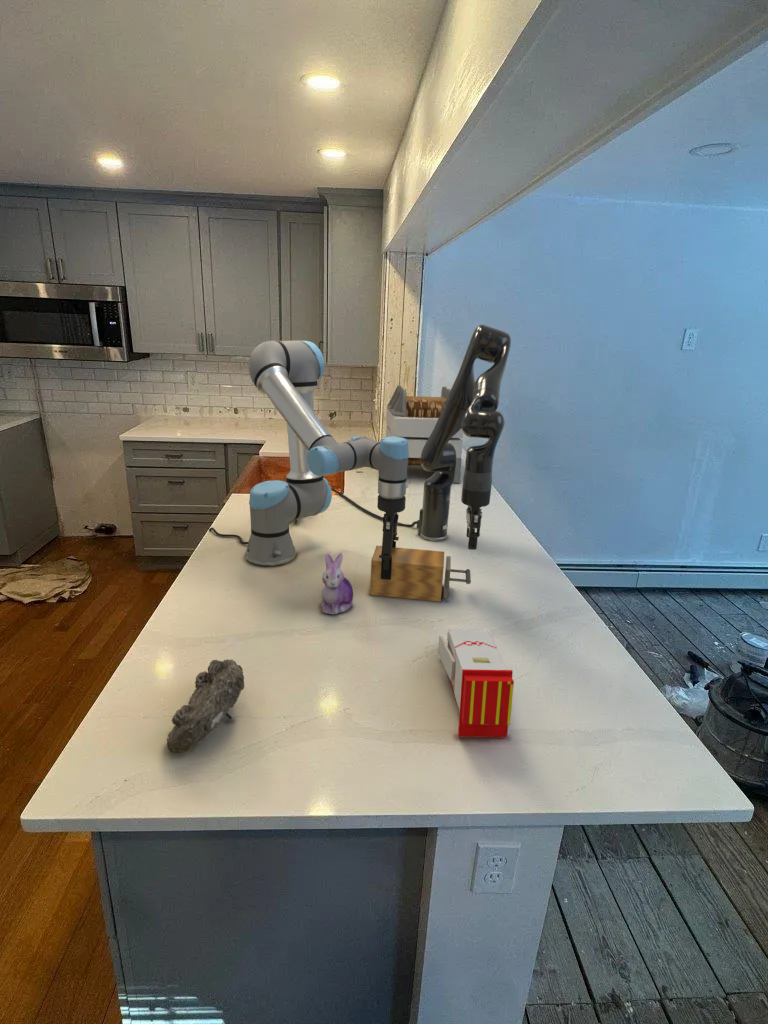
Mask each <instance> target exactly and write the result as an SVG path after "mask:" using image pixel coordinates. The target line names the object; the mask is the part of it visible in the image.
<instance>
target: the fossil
mask: <svg viewBox="0 0 768 1024" xmlns="http://www.w3.org/2000/svg"><path fill="white" fill-rule="evenodd" d="M243 670H244V669H243V667H242V665H240V664H237V662H236V661H235V660H234V659H232V658H231V659H227V658H226V659H224V660H223V661H222V660H217V659H212V660H211V661H210V663H209V665H208V666H207V671H201V672H199V673H198V674H197V675H196V676H195V680H194V684H195V685H194V687H195V689H194V690H193V693H192V694H191V697H190V698H189V700H188V704H184V705H182V706H181V707H180V709H177V710H176V711H175V713H174V715H173V716H172V718H171V723H172V724H173V727H172V730H171V731H170V732H168V734H167V738H166V741H167V742H166V745H167V749H168V750H169V751H173V752H174V753H176V754H178V753H182V752H188V751H189V752H192V751H193V750H195V748H196V747H197V746H199V744H200V743H201V742H203V741H204V740H205V739H206V738H207V737H208V736H209V735H210V734H211V733H212V732H214V730H215V729H217V727H218V726H219V724H220V722H221V721H222V720H223V719H224V718H225V716H226V717H227V719H229V720H233V717H232V715H230V714H229V710H230V709H231V708H234V706H235V704H236V703H237V702H238V699H239V697H240V695H241V693H242V691H243V690H245V689H244V688H245V675H244V671H243Z"/></svg>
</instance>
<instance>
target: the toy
mask: <svg viewBox="0 0 768 1024" xmlns="http://www.w3.org/2000/svg"><path fill="white" fill-rule="evenodd" d="M446 640H447V643H446V641H445V639H444V636H443V635H442V634H439V637H438V646H437V656H438V657H439V659H440V661H441V663H442V666H443V668H444V670H445V672H446V674H447V677H448V679H449V681H450V684H451V687H452V690H453V693H454V697H455V701H456V705H457V708H458V711H459V714H458V715H459V716H458V730H457V731H458V732H457V737H458V738H508V731H509V726H510V725H511V717H512V707H513V697H514V696H513V695H514V684H515V680H514V679H513V673H514V671H513V670H512V669H508V667H507V665H506V662H505V661H504V659H503V658H502V655H501V653H500V651H499V649H498V647H497V643H496V639H495V637H494V635H493V634H491V632H490V631H489V629H467V628H466V629H465V628H463V629H461V628H460V629H459V628H448V630H447V639H446Z"/></svg>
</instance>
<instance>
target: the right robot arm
mask: <svg viewBox="0 0 768 1024" xmlns="http://www.w3.org/2000/svg"><path fill="white" fill-rule="evenodd" d="M511 346H512V337H511V335H510V334H509V333H508V332H506V331H504V330H500V329H497V328H494V327H491V326H488V325H485V324H479V325H478V326H476V328H475V329H474V330H473V333H472V335H471V337H470V340H469V343H468V345H467V347H466V351H465V354H464V357H463V360H462V362H461V364H460V367H459V370H458V373H457V376H456V377H455V379H454V382H453V384H452V386H451V387H450V393H449V395H448V397H447V399H446V402H445V404H444V407H443V409H442V412H441V414H440V416H439V419H438V421H437V423H436V425H435V427H434V429H433V431H432V433H431V435H430V437H429V438H428V440H427V442H426V444H425V445H424V447H423V450H422V453H421V465H422V466H421V467H422V469H423V470H424V471H426V472H428V473H429V472H430V473H433V474H432V475H431V476H429V477H427V478H426V479H425V480H424V482H423V493H422V496H423V497H422V506H421V508H420V509H419V516H418V520H416V521H413V522H412V523H410V524H409V523H408V524H406V523H402V522H398V524H397V526H399V527H405V528H413V527H414V526H415V525H416V529H417V535H418V536H420V538H421V539H424V540H426V541H432V542H440V541H444V540H446V539H447V538H448V527H449V517H450V516H449V514H450V504H451V494H452V493H451V491H452V486H453V484H454V483H453V481H454V475H455V468H456V459H457V457H456V450H455V448H454V446H453V445H452V444H450V443H448V441H449V440H450V439H451V438H452V437H453V436H454V435H455V434H456V433H457V432H458V431H459V430H460V429H462V431H463V435H465V436H466V437H468V438H477V439H487V441H486V442H485V443H484V444H483V443H482V444H480V445H479V444H477V445H472V446H469V447H468V448H467V450H466V453H465V462H464V463H465V464H464V471H463V476H462V486H461V499H460V501H461V503H462V504H463V505H465V506H466V509H465V510H466V512H465V514H466V515H465V520H466V525H467V526H466V534H465V535H466V538H468V545H467V549H468V550H471V551H476V550H477V548H478V541H479V540H478V538H480V536H481V527H482V519H483V511H482V507H483V508H485V507H488V506H489V505H490V502H491V494H492V486H493V485H492V483H493V465H494V458H495V452H496V449H497V446H498V443H499V440H500V438H501V436H502V433H503V431H504V428H505V424H506V423H505V422H506V421H505V417H504V415H503V414H502V412H500V411H498V409H499V405H500V396H501V395H500V394H501V386H502V382H503V381H502V380H503V377H504V374H505V370H506V366H507V363H508V359H509V355H510V351H511ZM477 359H478V360H480V361H484V362H486V363H490V364H492V366H490V367H489V368H488V369H486V370H485V371H484V372H482V373H481V374H480V375H479V376H478V377H477V378H476V379H475V371H474V370H475V362H476V360H477ZM331 490H332V492H334V493H335V494H337V495H339V496H341V497H342V498H344V499H345V500H347V501H348V502H349V503H350V504H352V505H353V506H354V507H357V509H359V510H361V511H362V512H365V513H366V514H367V515H370V516H372V517H374V518H377V519H379V520H381V521H383V517H384V516H380V515H378V514H376V513H373V512H372V511H369V510H368V509H366V508H364V507H363V506H361V505H360V504H358V503H356V502H355V501H354V500H352V499H351V498H349V497H348V496H347V495H345V494H343V493H342V492H340V491H338V489H334V488H332V487H331Z"/></svg>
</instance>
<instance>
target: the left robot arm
mask: <svg viewBox="0 0 768 1024" xmlns="http://www.w3.org/2000/svg"><path fill="white" fill-rule="evenodd" d="M325 365H326V364H325V358H324V356H323V353H322V351H321V349H320V348H319V347H318V346H317V345H316V343H314V342H312V341H309V340H300V339H297V340H266V341H263V342H261V343H260V344H258V345H257V346H256V347H254V348H253V350H252V352H251V353H250V356H249V359H248V373H249V377H250V379H251V381H252V383H253V385H254V386H255V388H256V389H257V391H258V392H259V393H261V394H264V395H266V396H267V398H268V399H269V400H270V402H271V403H272V405H273V406H274V407H275V409H276V410H277V411H278V413H279V414H280V415H281V417H282V418H283V419H284V421H285V422H286V429H287V441H288V443H287V444H288V455H289V467H290V470H289V472H288V473H286V475H285V480H286V481H284V480H280V479H274V480H266V481H262V482H259V483H257V484H255V485H253V487H252V488H251V489H250V491H249V501H248V504H249V516H250V517H249V519H250V536H249V539H248V541H244V540H243V539H242V536H240V535H238V534H224V533H220V532H218V531H217V530H216V529H215V528H214V527H209V529H208V531H213V532H214V534H216V535H217V536H219V537H224V538H225V537H228V538H229V537H230V538H232V537H233V538H237V539H238V540H239V542H240V544H243V545H247V546H246V549H245V560H247V562H249V563H250V564H253V565H255V566H261V567H276V566H282V565H286V564H289V563H291V562H292V561H293V560H294V559H295V558H296V555H297V554H296V552H297V551H296V547H295V545H294V543H293V538H292V536H291V533H290V522H294V521H295V520H297V521H298V520H300V519H304V518H308V517H314V516H317V515H319V514H322V513H324V512H325V511H327V510H328V508H329V507H330V505H331V504H332V503H331V502H332V497H333V491H332V490H331V488H332V486H331V485H330V483H329V480H328V479H326V478H325V477H324V476H332V475H334V474H338V473H343V472H347V471H353V470H357V469H362V468H370V469H372V470H376V471H378V478H377V494H378V495H377V506H376V507H377V509H378V510H379V511H380V512H384V513H383V516H382V517H383V520H382V542H381V546H382V553H381V555H379V558H382V562H381V579H387V580H391V567H392V555H391V554H392V547H397V541H398V542H399V539H400V537H399V536H398V525H397V524H398V523H399V513H402V512H403V511H405V509H406V502H407V501H406V500H407V497H406V494H407V489H408V488H409V487H410V486H409V484H408V483H407V479H408V457H409V453H408V441H407V440H406V439H405V438H402V437H395V436H388V437H386V436H383V437H382V438H381V439H380V440H375V439H372V438H369V437H367V436H359V435H355V436H352V437H351V438H350V439H349V440H347V441H343V442H338V441H337V440H336V439H335V437H334V436H333V435H332V434H331V432H330V431H329V430H328V429H327V427H326V426H325V425H324V423H323V422H322V421H321V419H320V418H319V417H318V416H317V415H316V413H315V402H314V400H315V399H314V391H315V390H316V389H317V388H318V380H320V379H321V378H322V377H323V376H324V375H323V374H324V372H325V367H326V366H325Z"/></svg>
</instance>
